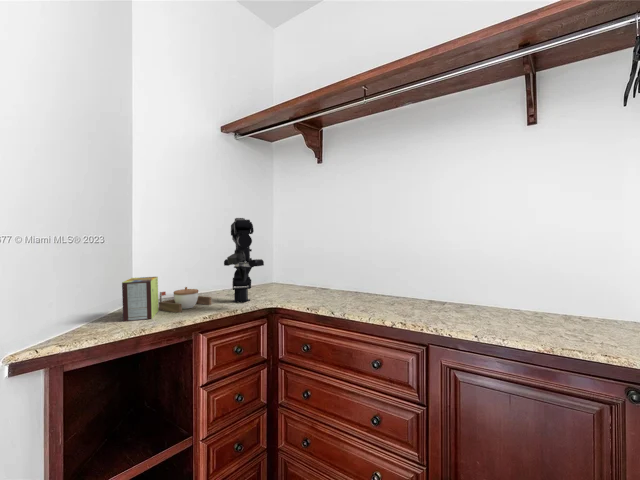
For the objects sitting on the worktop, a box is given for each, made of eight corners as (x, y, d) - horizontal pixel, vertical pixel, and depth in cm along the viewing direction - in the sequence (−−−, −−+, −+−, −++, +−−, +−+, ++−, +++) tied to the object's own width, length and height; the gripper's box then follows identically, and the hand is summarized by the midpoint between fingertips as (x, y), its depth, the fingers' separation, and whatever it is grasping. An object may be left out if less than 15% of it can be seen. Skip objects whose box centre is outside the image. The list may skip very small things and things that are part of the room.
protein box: (158, 311, 144) (158, 276, 144) (152, 319, 129) (151, 280, 129) (132, 313, 141) (131, 277, 141) (122, 321, 126) (121, 282, 126)
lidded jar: (168, 309, 147) (168, 288, 147) (182, 304, 158) (182, 285, 158) (190, 310, 145) (189, 289, 145) (203, 305, 156) (202, 285, 156)
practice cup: (191, 302, 163) (191, 286, 163) (211, 304, 157) (211, 287, 157) (158, 309, 147) (158, 292, 146) (179, 312, 141) (178, 294, 140)
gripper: (214, 247, 144) (215, 283, 144) (248, 247, 136) (248, 285, 136) (232, 247, 154) (232, 279, 154) (264, 246, 146) (264, 281, 146)
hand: (243, 281), depth 147 cm, fingers closed
